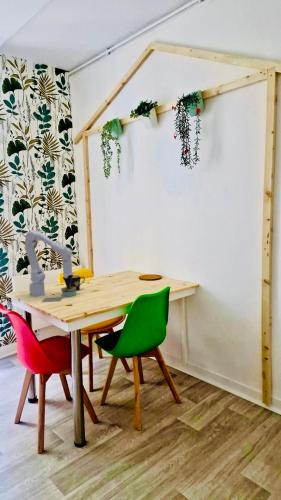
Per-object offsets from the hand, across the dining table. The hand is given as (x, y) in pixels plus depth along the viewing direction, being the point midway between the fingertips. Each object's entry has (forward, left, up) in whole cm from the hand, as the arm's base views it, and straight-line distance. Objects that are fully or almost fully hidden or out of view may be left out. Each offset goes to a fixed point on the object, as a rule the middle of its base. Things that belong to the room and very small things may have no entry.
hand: (68, 286), depth 225 cm
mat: (-9, -10, -6) cm, 15 cm away
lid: (0, 0, -2) cm, 2 cm away
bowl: (0, 0, -6) cm, 6 cm away
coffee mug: (+3, +15, -6) cm, 17 cm away
